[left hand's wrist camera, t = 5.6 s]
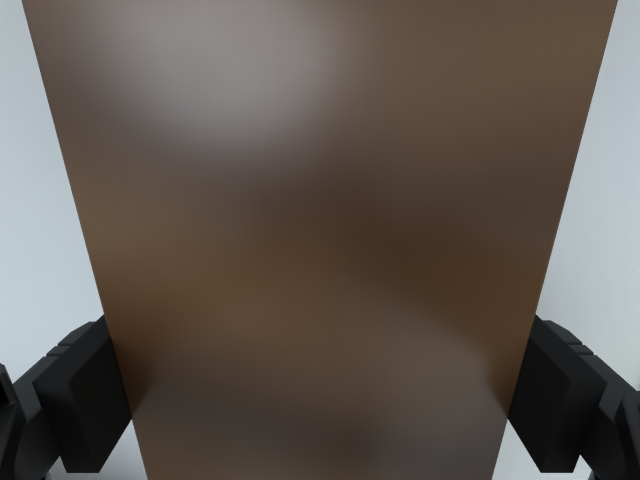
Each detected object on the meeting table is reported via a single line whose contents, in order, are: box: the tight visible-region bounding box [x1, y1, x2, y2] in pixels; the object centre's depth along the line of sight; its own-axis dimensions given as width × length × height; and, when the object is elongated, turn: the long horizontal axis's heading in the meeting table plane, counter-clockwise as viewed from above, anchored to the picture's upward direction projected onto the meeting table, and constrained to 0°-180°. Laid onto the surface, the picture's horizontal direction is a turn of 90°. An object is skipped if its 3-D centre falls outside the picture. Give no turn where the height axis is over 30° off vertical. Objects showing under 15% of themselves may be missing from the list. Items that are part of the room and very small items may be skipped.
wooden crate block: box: [22, 0, 618, 480], centre depth 11 cm, size 20×10×9 cm, turn 0°
